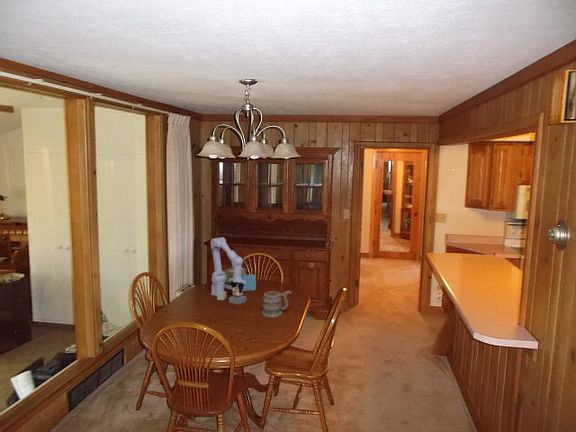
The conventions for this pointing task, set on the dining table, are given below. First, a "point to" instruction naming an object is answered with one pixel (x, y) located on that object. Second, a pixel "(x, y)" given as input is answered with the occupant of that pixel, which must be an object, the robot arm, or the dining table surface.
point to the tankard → (274, 303)
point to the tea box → (230, 275)
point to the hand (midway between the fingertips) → (237, 292)
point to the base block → (237, 299)
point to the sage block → (221, 295)
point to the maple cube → (236, 291)
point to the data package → (249, 282)
